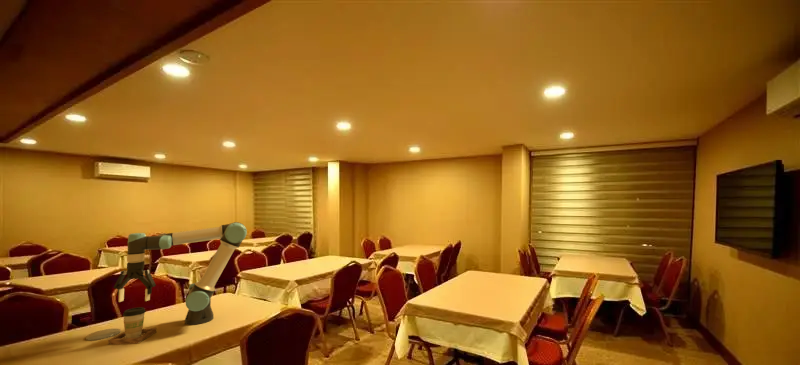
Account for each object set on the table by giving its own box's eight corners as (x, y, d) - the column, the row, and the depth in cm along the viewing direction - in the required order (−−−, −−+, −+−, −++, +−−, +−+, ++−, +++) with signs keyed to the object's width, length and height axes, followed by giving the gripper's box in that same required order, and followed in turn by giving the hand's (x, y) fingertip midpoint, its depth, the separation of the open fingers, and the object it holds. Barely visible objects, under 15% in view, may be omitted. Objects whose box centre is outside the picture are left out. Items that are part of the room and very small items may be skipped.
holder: (156, 332, 185) (156, 328, 185) (137, 343, 171) (137, 338, 171) (129, 333, 184) (129, 329, 184) (108, 344, 170) (108, 340, 170)
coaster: (126, 329, 189) (126, 327, 189) (106, 339, 175) (106, 337, 175) (100, 330, 188) (100, 329, 188) (78, 341, 174) (78, 339, 174)
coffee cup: (131, 342, 171) (132, 313, 172) (116, 341, 173) (117, 312, 174) (149, 334, 181) (150, 307, 182) (135, 333, 183) (135, 306, 184)
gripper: (164, 259, 184) (162, 298, 183) (117, 260, 183) (115, 299, 181) (155, 262, 177) (153, 302, 176) (106, 263, 175) (104, 303, 174)
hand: (134, 300), depth 178 cm, fingers open, 13 cm apart
